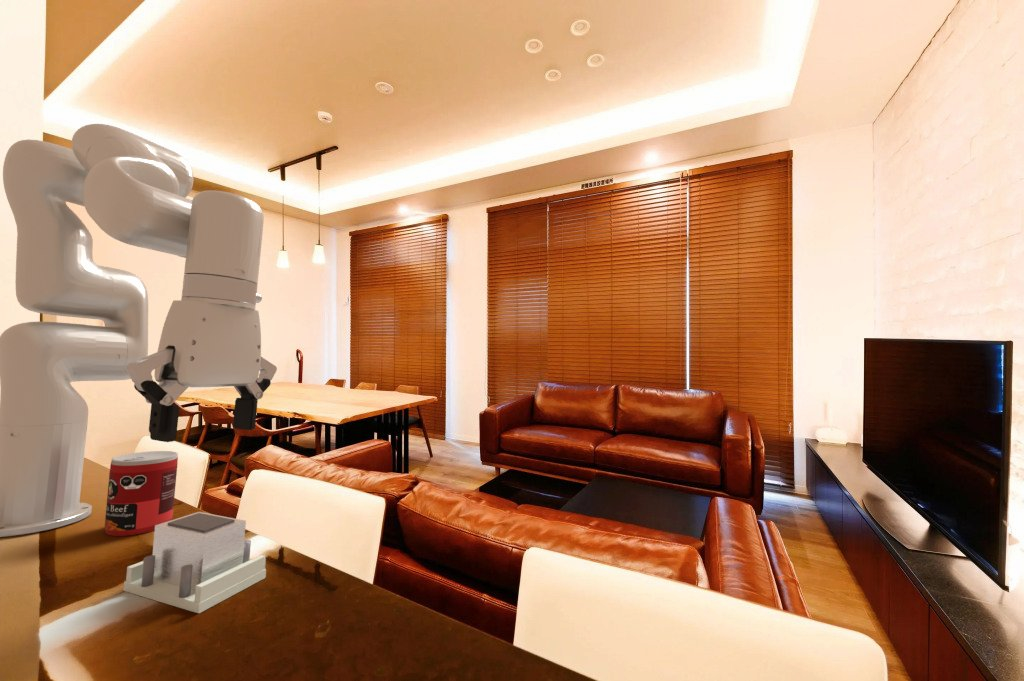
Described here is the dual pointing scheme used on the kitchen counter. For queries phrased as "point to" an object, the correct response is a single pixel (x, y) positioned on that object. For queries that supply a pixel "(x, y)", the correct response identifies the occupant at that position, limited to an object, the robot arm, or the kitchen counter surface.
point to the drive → (197, 547)
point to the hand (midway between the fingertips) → (206, 434)
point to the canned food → (140, 492)
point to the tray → (205, 593)
